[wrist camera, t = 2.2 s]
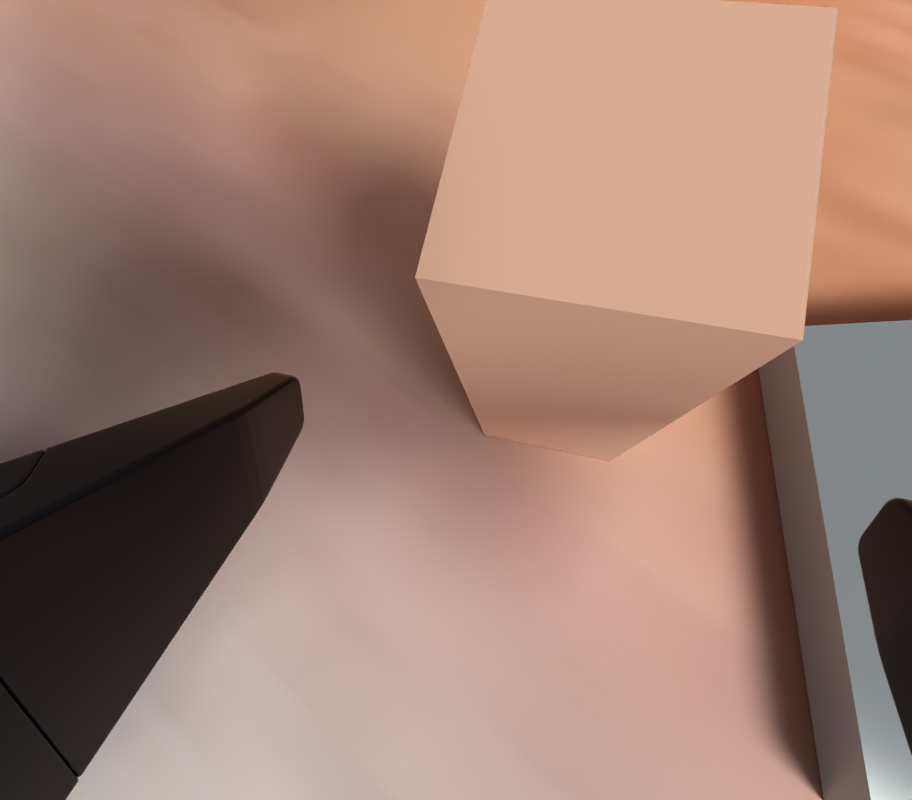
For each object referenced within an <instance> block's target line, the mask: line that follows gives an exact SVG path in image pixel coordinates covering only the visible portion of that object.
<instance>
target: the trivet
mask: <svg viewBox="0 0 912 800" xmlns="http://www.w3.org/2000/svg"><path fill="white" fill-rule="evenodd" d="M758 371H759V378H760V384H761V391H762V397H763V404H764V410H765V417H766V424H767V430H768V437H769V443H770V450H771V457H772V463H773V470H774V476H775V483H776V489H777V496H778V503H779V509H780V516H781V522H782V529H783V535H784V542H785V549H786V555H787V562H788V568H789V575H790V581H791V588H792V595H793V601H794V608H795V614H796V621H797V628H798V634H799V641H800V647H801V654H802V660H803V667H804V674H805V680H806V687H807V693H808V700H809V706H810V713H811V720H812V726H813V733H814V739H815V746H816V752H817V759H818V766H819V772H820V779H821V785H822V792H823V799H824V800H912V756H911V752H910V749H909V746H908V743H907V740H906V737H905V734H904V731H903V728H902V725H901V722H900V719H899V715H898V712H897V709H896V706H895V703H894V700H893V697H892V694H891V691H890V688H889V685H888V682H887V678H886V675H885V672H884V669H883V666H882V662H881V659H880V655H879V652H878V647H877V643H876V639H875V635H874V630H873V625H872V620H871V615H870V610H869V605H868V600H867V595H866V590H865V585H864V580H863V575H862V570H861V565H860V560H859V555H858V544H859V540H860V537H861V536H862V534H863V533H864V531H865V530H866V528H867V527H868V526H869V524H870V523H871V522H872V520H873V519H874V518H875V516H876V515H877V514H878V512H879V511H880V510H881V508H882V507H883V506H884V504H885V503H886V502H887V501H889V500H891V499H893V498H903V499H908V500H912V320H901V321H884V322H866V323H849V324H831V325H814V326H805V327H804V336H803V340H802V341H801V342H799V343H798V344H796V345H795V346H793V347H791V348H790V349H788V350H787V351H785V352H783V353H782V354H780V355H779V356H777V357H775V358H774V359H772V360H771V361H769V362H767V363H766V364H764V365H763V366H761V367H759V368H758Z"/></svg>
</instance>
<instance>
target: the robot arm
mask: <svg viewBox="0 0 912 800" xmlns="http://www.w3.org/2000/svg"><path fill="white" fill-rule="evenodd" d="M303 422H304V413H303V404H302V396H301V387H300V383H299V380H298V379H297V378H296V377H294V376H290V375H285V374H281V373H270V374H267V375H264V376H261V377H258V378H255V379H252V380H249V381H246V382H243V383H240V384H237V385H234V386H231V387H228V388H225V389H222V390H219V391H216V392H213V393H210V394H207V395H204V396H201V397H198V398H195V399H192V400H189V401H186V402H183V403H181V404H178V405H175V406H172V407H169V408H166V409H163V410H160V411H157V412H154V413H151V414H148V415H145V416H142V417H139V418H136V419H133V420H130V421H127V422H124V423H121V424H118V425H115V426H112V427H109V428H106V429H103V430H100V431H97V432H94V433H91V434H88V435H85V436H82V437H79V438H76V439H73V440H70V441H67V442H64V443H61V444H58V445H55V446H52V447H49V448H48V449H47V450H46V451H43V450H40V451H37V452H34V453H31V454H28V455H25V456H22V457H19V458H16V459H13V460H10V461H7V462H4V463H1V464H0V800H66V798H67V797H68V795H69V794H70V792H71V791H72V789H73V788H74V786H75V785H76V783H77V782H78V777H79V776H81V775H82V774H83V772H84V771H85V769H86V768H87V766H88V765H89V763H90V762H91V760H92V759H93V757H94V756H95V754H96V753H97V751H98V750H99V748H100V747H101V745H102V744H103V742H104V741H105V739H106V738H107V736H108V735H109V733H110V732H111V730H112V729H113V727H114V726H115V724H116V723H117V721H118V720H119V718H120V717H121V715H122V714H123V712H124V711H125V709H126V708H127V706H128V705H129V703H130V702H131V700H132V699H133V697H134V696H135V694H136V693H137V691H138V690H139V688H140V687H141V685H142V684H143V682H144V681H145V679H146V678H147V676H148V675H149V673H150V672H151V670H152V669H153V667H154V666H155V665H156V663H157V662H158V660H159V659H160V657H161V656H162V654H163V653H164V651H165V650H166V648H167V647H168V645H169V644H170V642H171V641H172V639H173V638H174V636H175V635H176V633H177V632H178V630H179V629H180V627H181V626H182V624H183V623H184V621H185V620H186V618H187V617H188V615H189V614H190V612H191V611H192V609H193V608H194V606H195V605H196V603H197V602H198V600H199V599H200V597H201V596H202V594H203V593H204V591H205V590H206V588H207V587H208V585H209V584H210V582H211V581H212V579H213V578H214V576H215V575H216V573H217V572H218V570H219V569H220V567H221V566H222V564H223V563H224V561H225V560H226V558H227V557H228V555H229V554H230V552H231V551H232V549H233V548H234V546H235V545H236V543H237V542H238V540H239V539H240V537H241V536H242V534H243V533H244V531H245V530H246V528H247V527H248V525H249V524H250V522H251V521H252V519H253V518H254V516H255V515H256V513H257V512H258V510H259V509H260V507H261V506H262V504H263V502H264V501H265V499H266V497H267V495H268V494H269V492H270V490H271V488H272V486H273V484H274V482H275V480H276V478H277V476H278V474H279V473H280V471H281V469H282V467H283V465H284V463H285V461H286V459H287V457H288V455H289V453H290V451H291V449H292V447H293V445H294V443H295V442H296V440H297V438H298V436H299V434H300V432H301V430H302V427H303ZM858 555H859V560H860V565H861V570H862V575H863V580H864V585H865V590H866V595H867V600H868V605H869V610H870V615H871V620H872V625H873V630H874V635H875V639H876V643H877V647H878V652H879V655H880V659H881V662H882V666H883V669H884V672H885V675H886V678H887V682H888V685H889V688H890V691H891V694H892V697H893V700H894V703H895V706H896V709H897V712H898V715H899V719H900V722H901V725H902V728H903V731H904V734H905V737H906V740H907V743H908V746H909V749H910V752H911V756H912V500H908V499H903V498H893V499H891V500H889V501H887V502H886V503H885V504H884V506H883V507H882V508H881V510H880V511H879V512H878V514H877V515H876V516H875V518H874V519H873V520H872V522H871V523H870V524H869V526H868V527H867V528H866V530H865V531H864V533H863V534H862V536H861V537H860V540H859V544H858Z"/></svg>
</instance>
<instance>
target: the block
mask: <svg viewBox="0 0 912 800" xmlns="http://www.w3.org/2000/svg"><path fill="white" fill-rule="evenodd" d="M837 10H838V8H830V7H814V6H799V5H783V4H767V3H752V2H736V1H721V0H487V1H486V5H485V9H484V12H483V16H482V20H481V24H480V28H479V32H478V36H477V40H476V43H475V47H474V51H473V55H472V59H471V63H470V67H469V70H468V74H467V78H466V82H465V86H464V90H463V94H462V97H461V101H460V105H459V109H458V113H457V117H456V121H455V124H454V128H453V132H452V136H451V140H450V144H449V148H448V152H447V155H446V159H445V163H444V167H443V171H442V175H441V179H440V182H439V186H438V190H437V194H436V198H435V202H434V206H433V209H432V213H431V217H430V221H429V225H428V229H427V233H426V236H425V240H424V244H423V248H422V252H421V256H420V260H419V264H418V267H417V271H416V275H415V279H416V281H417V283H418V286H419V288H420V290H421V292H422V295H423V297H424V299H425V301H426V304H427V306H428V308H429V311H430V313H431V315H432V317H433V320H434V322H435V324H436V326H437V329H438V331H439V333H440V335H441V338H442V340H443V342H444V344H445V347H446V349H447V351H448V353H449V356H450V358H451V360H452V362H453V365H454V367H455V369H456V372H457V374H458V376H459V378H460V381H461V383H462V385H463V387H464V390H465V392H466V394H467V396H468V399H469V401H470V403H471V405H472V408H473V410H474V412H475V414H476V417H477V419H478V421H479V423H480V426H481V428H482V430H483V433H484V435H486V436H491V437H495V438H500V439H505V440H510V441H515V442H519V443H524V444H529V445H534V446H539V447H543V448H548V449H553V450H558V451H563V452H567V453H572V454H577V455H582V456H587V457H591V458H596V459H601V460H606V461H611V460H612V459H614V458H616V457H617V456H619V455H620V454H622V453H624V452H625V451H627V450H628V449H630V448H632V447H633V446H635V445H636V444H638V443H640V442H641V441H643V440H644V439H646V438H648V437H649V436H651V435H652V434H654V433H656V432H657V431H659V430H660V429H662V428H664V427H665V426H667V425H668V424H670V423H672V422H673V421H675V420H676V419H678V418H680V417H681V416H683V415H684V414H686V413H687V412H689V411H691V410H692V409H694V408H695V407H697V406H699V405H700V404H702V403H703V402H705V401H707V400H708V399H710V398H711V397H713V396H715V395H716V394H718V393H719V392H721V391H723V390H724V389H726V388H727V387H729V386H731V385H732V384H734V383H735V382H737V381H739V380H740V379H742V378H743V377H745V376H747V375H748V374H750V373H751V372H753V371H755V370H756V369H758V368H759V367H761V366H763V365H764V364H766V363H767V362H769V361H771V360H772V359H774V358H775V357H777V356H779V355H780V354H782V353H783V352H785V351H787V350H788V349H790V348H791V347H793V346H795V345H796V344H798V343H799V342H801V341H802V340H803V336H804V327H805V317H806V308H807V298H808V288H809V279H810V269H811V260H812V250H813V240H814V231H815V221H816V212H817V202H818V192H819V183H820V173H821V164H822V154H823V144H824V135H825V125H826V116H827V106H828V96H829V87H830V77H831V68H832V58H833V49H834V39H835V29H836V20H837Z"/></svg>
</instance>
